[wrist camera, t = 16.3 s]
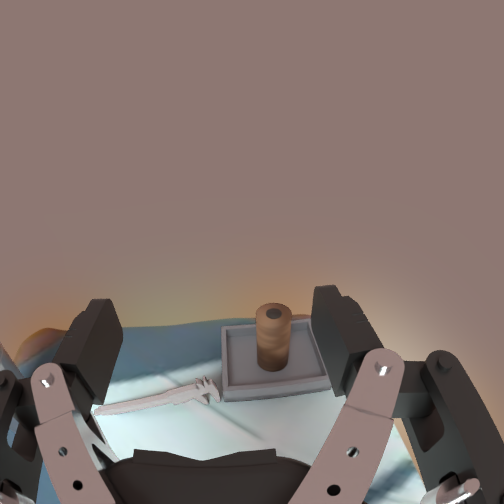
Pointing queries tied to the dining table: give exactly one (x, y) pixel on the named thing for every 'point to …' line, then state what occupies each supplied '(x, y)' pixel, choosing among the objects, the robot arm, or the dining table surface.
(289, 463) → the robot arm
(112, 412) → the caliper
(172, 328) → the dining table surface
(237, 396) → the tray
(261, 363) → the cylinder
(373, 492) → the dining table surface
